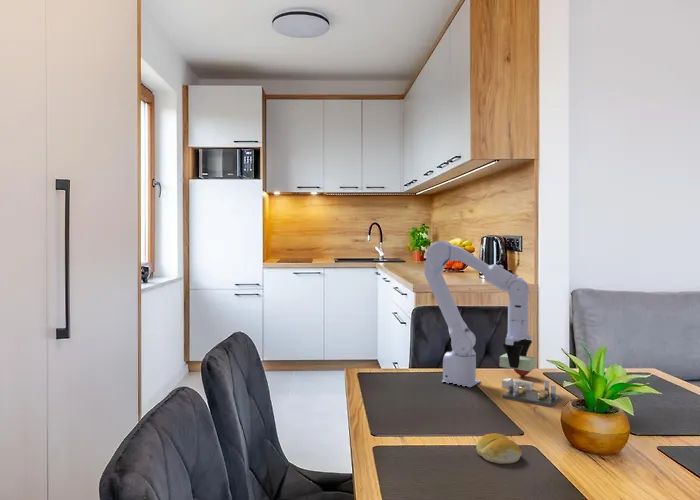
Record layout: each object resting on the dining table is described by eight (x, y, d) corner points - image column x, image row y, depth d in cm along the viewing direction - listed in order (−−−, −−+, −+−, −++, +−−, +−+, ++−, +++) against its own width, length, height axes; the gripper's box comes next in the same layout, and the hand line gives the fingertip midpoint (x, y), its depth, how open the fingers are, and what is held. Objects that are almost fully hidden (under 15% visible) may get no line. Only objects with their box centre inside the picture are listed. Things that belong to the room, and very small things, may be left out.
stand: (502, 387, 154) (502, 380, 154) (506, 384, 157) (506, 377, 157) (529, 391, 149) (529, 384, 149) (532, 389, 152) (532, 382, 152)
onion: (512, 378, 164) (513, 353, 164) (512, 373, 169) (512, 349, 169) (532, 379, 162) (532, 354, 162) (531, 375, 168) (531, 350, 167)
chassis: (502, 397, 144) (502, 382, 143) (513, 390, 151) (513, 375, 151) (551, 407, 136) (551, 390, 136) (560, 398, 143) (560, 383, 143)
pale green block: (499, 366, 154) (499, 356, 154) (505, 363, 158) (505, 353, 158) (530, 371, 148) (530, 360, 148) (535, 368, 152) (535, 357, 152)
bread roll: (504, 445, 111) (504, 426, 111) (527, 463, 102) (527, 442, 102) (468, 448, 109) (468, 429, 109) (489, 466, 100) (489, 446, 100)
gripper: (523, 324, 145) (522, 372, 145) (539, 318, 156) (538, 363, 156) (498, 321, 149) (498, 368, 149) (516, 315, 160) (515, 359, 161)
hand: (517, 365), depth 153 cm, fingers closed on pale green block, 5 cm apart
